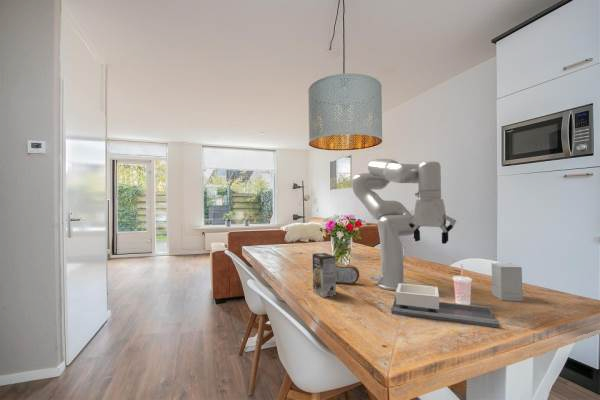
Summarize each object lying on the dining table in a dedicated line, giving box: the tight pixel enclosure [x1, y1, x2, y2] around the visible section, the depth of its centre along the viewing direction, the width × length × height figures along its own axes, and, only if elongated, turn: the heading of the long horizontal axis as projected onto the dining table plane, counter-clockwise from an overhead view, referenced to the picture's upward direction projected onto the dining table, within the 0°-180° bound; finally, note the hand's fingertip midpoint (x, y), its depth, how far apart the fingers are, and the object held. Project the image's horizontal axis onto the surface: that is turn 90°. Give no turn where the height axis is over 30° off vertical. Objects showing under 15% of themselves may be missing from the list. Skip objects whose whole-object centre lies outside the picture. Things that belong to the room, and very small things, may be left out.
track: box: [390, 296, 499, 329], centre depth 94 cm, size 30×12×2 cm, turn 66°
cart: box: [395, 283, 440, 312], centre depth 97 cm, size 13×11×6 cm
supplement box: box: [491, 262, 524, 302], centre depth 108 cm, size 7×7×13 cm
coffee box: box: [312, 252, 337, 298], centre depth 117 cm, size 9×6×16 cm
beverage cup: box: [452, 264, 473, 305], centre depth 104 cm, size 6×6×14 cm
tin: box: [335, 263, 360, 285], centre depth 132 cm, size 15×3×8 cm, turn 71°
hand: (430, 242), depth 104 cm, fingers open, 9 cm apart
